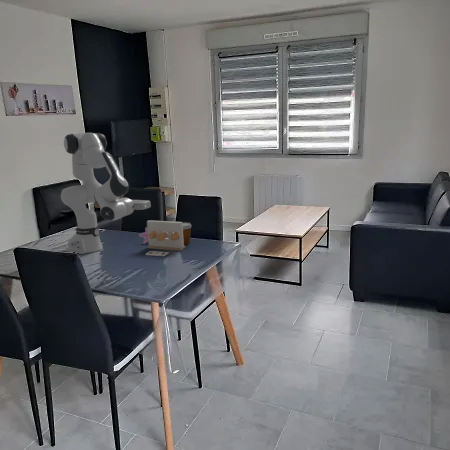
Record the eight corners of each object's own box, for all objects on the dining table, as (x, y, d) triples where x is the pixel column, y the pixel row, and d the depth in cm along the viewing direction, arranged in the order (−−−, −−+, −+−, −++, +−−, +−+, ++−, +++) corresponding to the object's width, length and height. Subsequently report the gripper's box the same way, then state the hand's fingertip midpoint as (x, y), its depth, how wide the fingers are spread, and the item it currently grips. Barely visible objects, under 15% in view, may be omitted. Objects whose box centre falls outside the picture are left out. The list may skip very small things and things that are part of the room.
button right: (170, 240, 244) (170, 234, 243) (175, 237, 250) (174, 231, 249) (176, 240, 243) (175, 234, 242) (180, 237, 249) (180, 231, 248)
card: (145, 254, 240) (145, 253, 239) (150, 251, 245) (150, 250, 245) (164, 256, 236) (164, 255, 236) (168, 253, 241) (168, 252, 241)
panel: (147, 248, 252) (144, 222, 248) (152, 244, 258) (150, 219, 254) (180, 250, 245) (179, 223, 241) (185, 247, 251) (184, 221, 247)
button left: (148, 238, 249) (148, 233, 248) (154, 235, 255) (153, 230, 254) (154, 239, 247) (153, 233, 247) (159, 236, 253) (159, 230, 253)
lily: (138, 243, 266) (135, 232, 260) (151, 232, 273) (148, 221, 266) (151, 251, 261) (148, 241, 254) (164, 240, 267) (162, 229, 260)
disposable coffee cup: (188, 245, 253) (187, 226, 250) (174, 244, 256) (173, 225, 253) (194, 241, 262) (193, 222, 259) (180, 240, 265) (179, 222, 262)
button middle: (157, 240, 244) (157, 234, 243) (162, 237, 250) (162, 231, 249) (163, 241, 243) (162, 235, 242) (168, 238, 249) (167, 232, 248)
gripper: (142, 201, 209) (155, 196, 222) (107, 200, 216) (121, 195, 229) (143, 213, 211) (156, 207, 224) (108, 212, 218) (123, 206, 230)
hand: (138, 201), depth 226 cm, fingers closed
